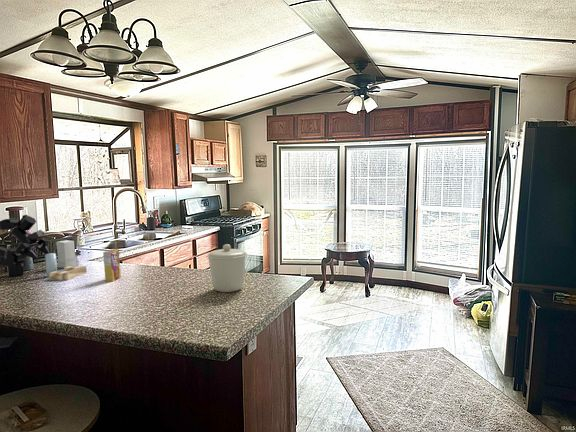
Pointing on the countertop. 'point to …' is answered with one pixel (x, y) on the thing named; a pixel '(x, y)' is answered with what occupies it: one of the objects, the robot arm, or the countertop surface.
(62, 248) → the skincare box
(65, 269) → the oak stand
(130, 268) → the countertop surface
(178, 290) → the countertop surface
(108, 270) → the candy box
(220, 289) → the canister
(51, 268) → the slate jar
